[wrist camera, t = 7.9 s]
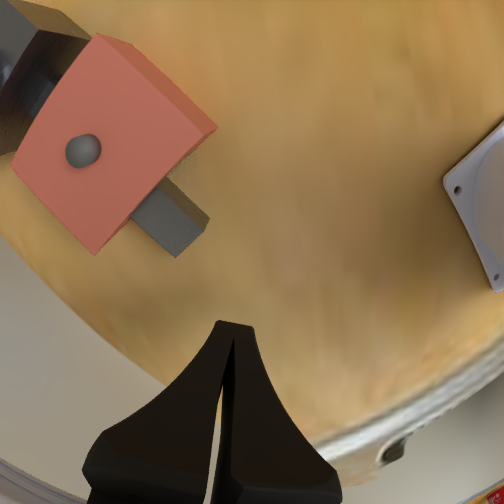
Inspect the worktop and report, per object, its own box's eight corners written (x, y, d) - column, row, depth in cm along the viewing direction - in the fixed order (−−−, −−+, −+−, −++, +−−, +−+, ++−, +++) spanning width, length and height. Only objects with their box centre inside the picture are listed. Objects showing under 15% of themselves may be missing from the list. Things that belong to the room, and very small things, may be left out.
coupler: (247, 183, 15) (236, 231, 10) (154, 272, 17) (114, 342, 12) (60, 10, 11) (-13, -8, 6) (-4, 112, 13) (-76, 130, 8)
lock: (218, 127, 14) (199, 137, 10) (124, 224, 16) (86, 264, 12) (132, 44, 12) (86, 30, 8) (51, 149, 14) (-2, 170, 10)
